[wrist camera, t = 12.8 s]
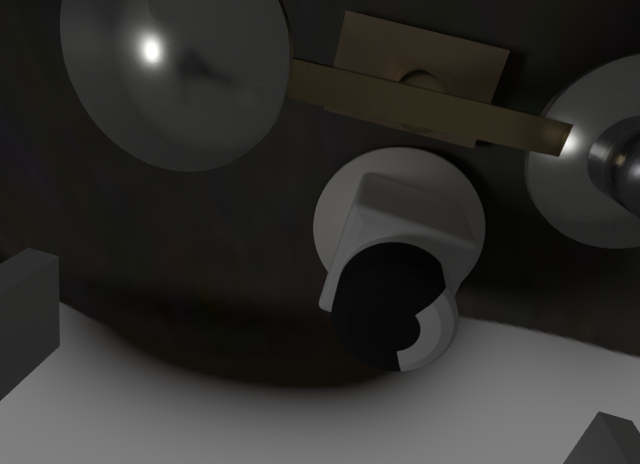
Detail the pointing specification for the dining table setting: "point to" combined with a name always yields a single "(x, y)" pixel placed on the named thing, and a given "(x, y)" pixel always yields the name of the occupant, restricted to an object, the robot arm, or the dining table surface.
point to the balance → (349, 97)
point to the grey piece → (398, 275)
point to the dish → (402, 168)
